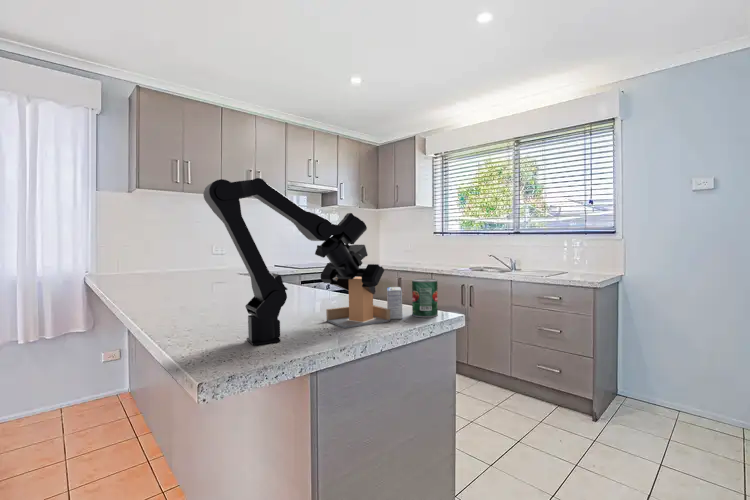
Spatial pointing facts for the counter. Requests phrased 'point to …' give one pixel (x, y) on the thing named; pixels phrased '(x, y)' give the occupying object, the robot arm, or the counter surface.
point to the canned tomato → (424, 298)
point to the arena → (342, 319)
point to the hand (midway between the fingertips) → (363, 292)
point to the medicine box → (394, 302)
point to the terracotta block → (359, 301)
